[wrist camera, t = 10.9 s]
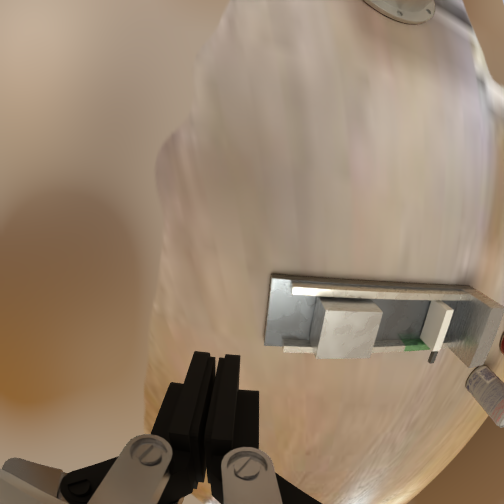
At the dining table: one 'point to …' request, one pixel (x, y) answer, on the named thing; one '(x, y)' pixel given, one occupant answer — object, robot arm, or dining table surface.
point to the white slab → (436, 326)
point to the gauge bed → (385, 314)
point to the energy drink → (488, 392)
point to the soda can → (502, 345)
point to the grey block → (344, 327)
